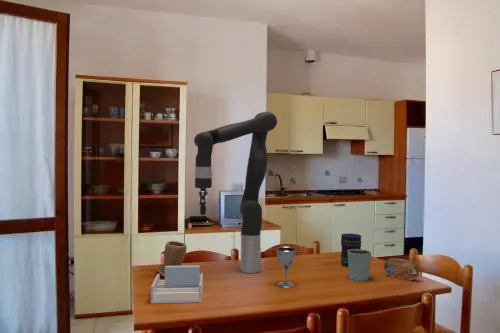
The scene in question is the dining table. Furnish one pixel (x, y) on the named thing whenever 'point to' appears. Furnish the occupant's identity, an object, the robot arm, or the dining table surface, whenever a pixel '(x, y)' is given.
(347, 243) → the storage jar
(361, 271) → the grey tapered cup
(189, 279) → the blue-grey rectangular slab
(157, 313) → the dining table surface
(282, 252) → the wine glass
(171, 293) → the dish rack
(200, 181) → the robot arm
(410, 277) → the tin
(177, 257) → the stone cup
